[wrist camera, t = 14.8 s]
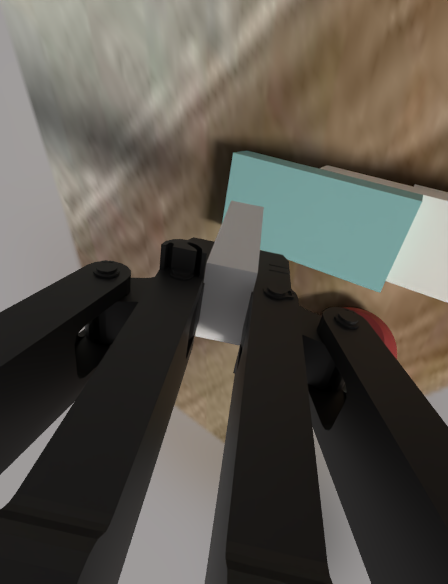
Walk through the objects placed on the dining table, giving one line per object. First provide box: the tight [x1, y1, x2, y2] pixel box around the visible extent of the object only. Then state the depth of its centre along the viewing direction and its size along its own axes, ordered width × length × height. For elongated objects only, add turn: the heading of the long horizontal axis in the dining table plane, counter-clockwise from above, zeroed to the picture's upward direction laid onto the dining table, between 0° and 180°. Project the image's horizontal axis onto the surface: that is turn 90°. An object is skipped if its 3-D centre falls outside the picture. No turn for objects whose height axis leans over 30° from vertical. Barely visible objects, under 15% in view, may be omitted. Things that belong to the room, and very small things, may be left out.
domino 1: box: [222, 151, 423, 292], centre depth 19 cm, size 2×5×10 cm
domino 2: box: [319, 165, 448, 303], centre depth 19 cm, size 2×5×10 cm
